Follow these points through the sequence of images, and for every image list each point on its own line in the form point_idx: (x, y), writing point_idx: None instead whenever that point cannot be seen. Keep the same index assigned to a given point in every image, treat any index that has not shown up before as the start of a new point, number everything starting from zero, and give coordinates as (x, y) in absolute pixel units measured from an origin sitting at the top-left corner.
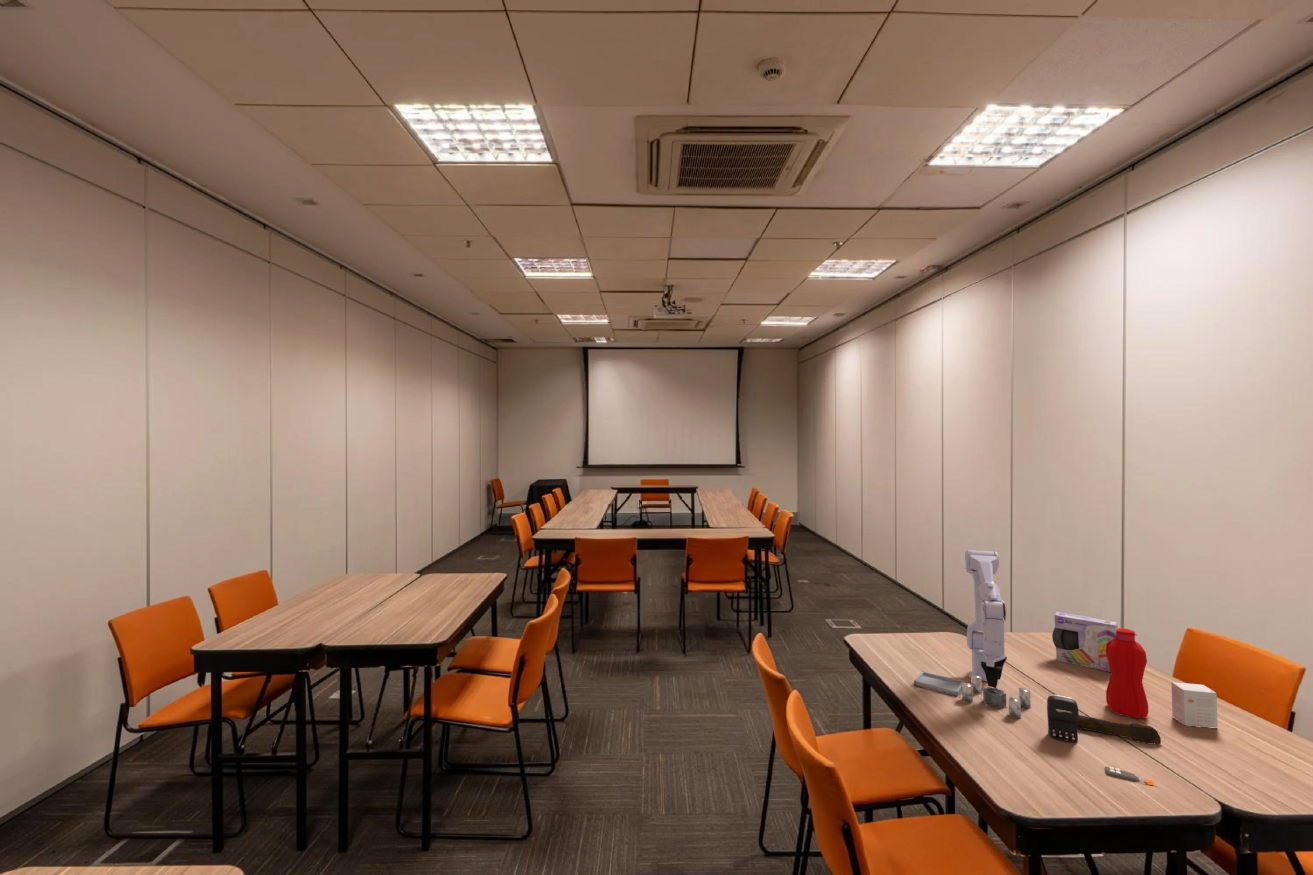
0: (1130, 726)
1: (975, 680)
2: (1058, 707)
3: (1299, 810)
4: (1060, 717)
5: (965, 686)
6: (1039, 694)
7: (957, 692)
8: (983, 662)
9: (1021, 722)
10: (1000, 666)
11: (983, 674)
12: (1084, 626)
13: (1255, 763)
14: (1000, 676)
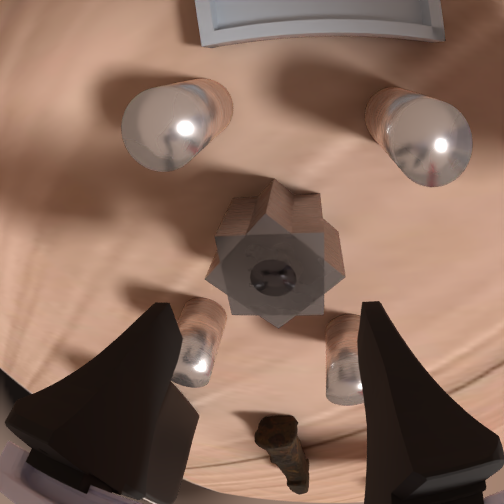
0: (292, 480)
1: (387, 136)
2: None
3: (224, 492)
4: None
5: (123, 130)
6: (487, 342)
7: (203, 43)
8: (43, 445)
9: None
10: (371, 439)
11: None
12: None
13: (321, 495)
14: (359, 364)
